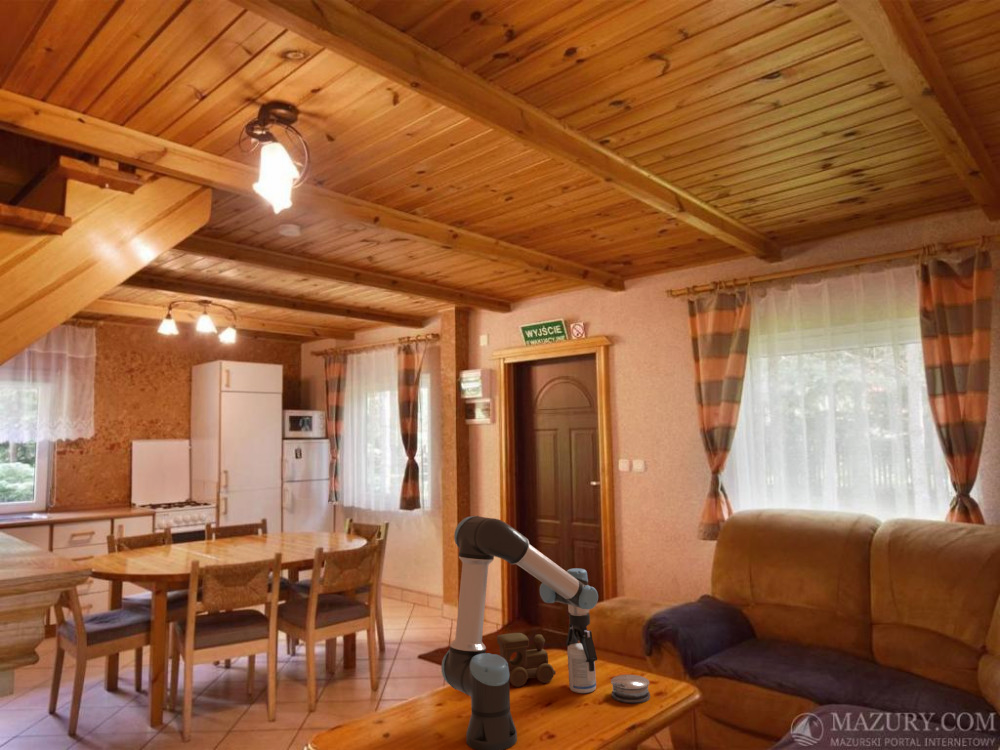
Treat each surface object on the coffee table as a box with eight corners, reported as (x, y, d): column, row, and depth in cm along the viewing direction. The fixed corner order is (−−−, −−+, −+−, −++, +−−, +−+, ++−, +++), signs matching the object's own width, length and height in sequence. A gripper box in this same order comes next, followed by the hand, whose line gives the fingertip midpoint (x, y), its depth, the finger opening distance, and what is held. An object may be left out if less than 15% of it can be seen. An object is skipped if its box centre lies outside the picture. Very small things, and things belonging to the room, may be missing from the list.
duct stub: (623, 706, 218) (622, 690, 219) (605, 692, 230) (604, 678, 231) (657, 699, 222) (656, 684, 223) (637, 687, 235) (636, 672, 235)
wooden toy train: (506, 690, 236) (504, 642, 238) (497, 679, 247) (495, 634, 249) (557, 682, 242) (555, 635, 244) (546, 672, 253) (545, 628, 255)
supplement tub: (601, 690, 233) (599, 647, 235) (581, 696, 228) (579, 652, 230) (583, 682, 241) (581, 640, 243) (563, 688, 236) (561, 645, 238)
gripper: (604, 619, 227) (608, 683, 225) (573, 604, 250) (576, 662, 248) (585, 622, 225) (588, 687, 222) (555, 606, 248) (558, 665, 246)
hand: (582, 674), depth 235 cm, fingers open, 13 cm apart
